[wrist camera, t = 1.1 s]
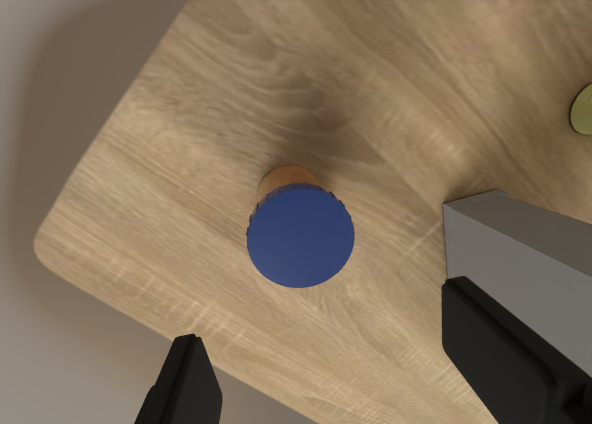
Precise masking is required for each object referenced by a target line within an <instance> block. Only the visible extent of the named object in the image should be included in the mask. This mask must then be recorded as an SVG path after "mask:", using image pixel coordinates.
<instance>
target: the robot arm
mask: <svg viewBox="0 0 592 424" xmlns="http://www.w3.org/2000/svg"><path fill="white" fill-rule="evenodd" d="M442 345H443V348H444V351H445V353H446V354H447V356H448V357H449V358H450V360H451V361H452V362H453V364H454V365H455V366H456V367H457V369H458V370H459V371H460V373H461V374H462V375H463V377H464V378H465V379H466V381H467V382H468V383H469V385H470V386H471V387H472V389H473V390H474V391H475V393H476V394H477V395H478V397H479V398H480V399H481V401H482V402H483V403H484V405H485V406H486V407H487V409H488V410H489V411H490V413H491V414H492V415H493V417H494V418H495V419H496V421H497V422H498V423H499V424H592V377H590V376H589V375H588V374H587V373H586V372H585V371H583V370H582V369H581V368H580V367H578V366H577V365H576V364H575V363H573V362H572V361H571V360H570V359H568V358H567V357H566V356H565V355H563V354H562V353H561V352H560V351H559V350H557V349H556V348H555V347H554V346H552V345H551V344H550V343H549V342H547V341H546V340H545V339H544V338H542V337H541V336H540V335H539V334H537V333H536V332H535V331H534V330H532V329H531V328H530V327H529V326H527V325H526V324H525V323H524V322H522V321H521V320H520V319H519V318H517V317H516V316H515V315H514V314H512V313H511V312H510V311H509V310H507V309H506V308H505V307H504V306H502V305H501V304H500V303H499V302H497V301H496V300H495V299H494V298H492V297H491V296H490V295H489V294H487V293H486V292H485V291H484V290H482V289H481V288H480V287H479V286H477V285H476V284H475V283H474V282H472V281H471V280H470V279H469V278H467V277H466V276H459V277H454V278H449V279H447V280H446V281H445V284H443V285H442ZM221 408H222V392H221V389H220V387H219V384H218V381H217V379H216V376H215V373H214V371H213V368H212V365H211V363H210V360H209V357H208V355H207V352H206V349H205V347H204V344H203V341H202V339H201V337H196V336H195V334H188V335H184V336H179V337H176V338H175V339H174V341H173V344H172V346H171V348H170V351H169V353H168V356H167V358H166V360H165V363H164V365H163V367H162V369H161V372H160V374H159V377H158V379H157V381H156V383H155V385H153V386H152V387H151V388H150V390H149V392H148V394H147V396H146V398H145V401H144V403H143V405H142V407H141V409H140V412H139V414H138V416H137V419H136V421H135V423H134V424H219V420H220V414H221Z"/></svg>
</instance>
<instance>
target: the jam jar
mask: <svg viewBox="0 0 592 424" xmlns="http://www.w3.org/2000/svg"><path fill="white" fill-rule="evenodd" d="M291 182H293V183H305V182H307V183H309V184H314V185H317V186H318V185H320V186H321V187H322V188H324V186H323V185H322V184H321V183H320V181H319V180H318V179H317V178H316V177H315V175H314V174H312V173H311V172H310V171H308V170H307V169H305V168H302V167H299V166H293V165H288V166H282V167H279V168H276V169H274V170H272V171H271V172H270V173H268V174H267V175H266V176H265V177H264V179H263V180H262V181H261V183H260V185H259V188H258V191H257V197H256V203H255V207H256V204H257V203H259V202H260V201H261V199H262V198H263V197H265V196H266V193H267V194H268V193H270V192H271V191H272V190H274V189H276V188H278V186H279V187H281V186H284V185H287V184H291ZM324 189H325V188H324Z"/></svg>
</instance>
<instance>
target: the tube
mask: <svg viewBox="0 0 592 424" xmlns="http://www.w3.org/2000/svg"><path fill="white" fill-rule="evenodd" d="M571 123H572V126H573V127H574V129H575V130H576V131H578V132H579V133H582V134H588V135H592V84H590V85H589V86H587V87H586V88H585V89H584V90H583V91H582V92H581V93H580V94H579V96H578V97H577V98H576V100H575V102H574V104H573V106H572V110H571Z"/></svg>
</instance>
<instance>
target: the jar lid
mask: <svg viewBox="0 0 592 424" xmlns="http://www.w3.org/2000/svg"><path fill="white" fill-rule="evenodd" d="M344 207H345V206H344V204H343V203H342V202H341V201H340V200H339V201H338V199H337V198H336V197H335V195H334V194H333V193H332V192H331V191H330V192H329V191H327V190H326V189H324V188H322V187H321V186H320V185H318V186H317V185H314V184H309V183H307V182H305V183H293V182H291V184H287V185H284V186H281V187H279V186H278V188H276V189H274V190H272V191H271V192H270V193H268V194H267V193H266V196H265V197H263V198H262V199H261V201H260V202H259V203H257V204H256V207H255V209H254V211H253V213H252V215H250V219H249V222H250V223H249V227H248V228H247V233H246V235H247V248H248V252H249V255H250V258H251V260H252V262H253V264H254V265H255V267H256V268H257V269H258V271H259V272H260V273H261V274H262V275H263V276H265V277H266V278H267V279H269V280H270V281H272V282H274V283H276V284H279V285H282V286H286V287H292V288H304V287H310V286H315V285H318V284H320V283H323V282H325V281H327V280H328V279H330V278H332V277H333V276H334V275H335V274H337V273H338V272H339V271H340V270H341V269H342V268H343V266H344V265H345V264H346V262H347V260H348V259H349V257H350V255H351V252H352V249H353V245H354V226H353V223H352V220H351V216H350V215H349V213H348V212H347V210H346V209H345V208H344Z"/></svg>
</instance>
